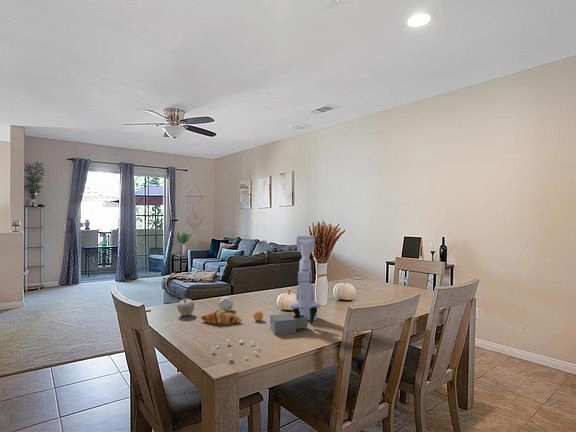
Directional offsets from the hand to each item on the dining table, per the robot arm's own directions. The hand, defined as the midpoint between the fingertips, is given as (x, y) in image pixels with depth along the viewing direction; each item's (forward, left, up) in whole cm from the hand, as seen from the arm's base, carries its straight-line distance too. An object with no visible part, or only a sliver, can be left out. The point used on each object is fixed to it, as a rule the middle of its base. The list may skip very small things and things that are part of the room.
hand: (304, 323), depth 168 cm
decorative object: (+57, -36, -3) cm, 67 cm away
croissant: (+39, -19, -3) cm, 43 cm away
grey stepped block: (+8, 0, -2) cm, 8 cm away
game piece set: (+35, +20, -3) cm, 40 cm away
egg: (+20, -18, 0) cm, 27 cm away
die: (+35, -41, -3) cm, 54 cm away
